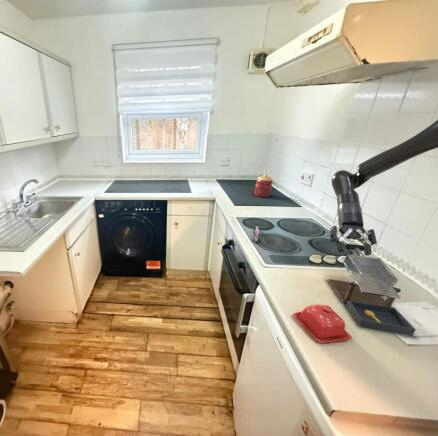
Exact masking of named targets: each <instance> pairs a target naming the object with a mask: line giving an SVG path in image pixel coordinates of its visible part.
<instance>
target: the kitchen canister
mask: <svg viewBox="0 0 438 436" xmlns="http://www.w3.org/2000/svg"><path fill="white" fill-rule="evenodd" d="M255 182H256V183H255V185H254V190H253V195H254V196H256V197H259V198H269V197H271V195H272V189H273V184H274V182H273V178H272V177H270V176H268V174H263V175H260V176H258V177H257V179H256V180H255Z"/></svg>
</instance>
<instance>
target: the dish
mask: <svg viewBox="0 0 438 436" xmlns="http://www.w3.org/2000/svg"><path fill="white" fill-rule="evenodd" d="M345 249H346V250H350V251H354V252H355V253H356V254H349V253H347V254H346V256H345V257H344V260H343V262H342V264H343V267H345V269H346V271H347V272H348V274H349V276H350V277H351V278H352V281H354V282H355V283H356V285H357V286H358V288H359V290H360V291H361V293H365V294H372V295H378V296H381V297H386V298H387V297H391V298H395V299H397V300H399V299H400V298H401V296H400V294H399V292H398V293H397V292H396V291H395V290H394V288H393V287H395V285H396V284H397V282H399V278H398V276H396V275H395V274H394V272H393V271H392V270H391V269H390V267H388V265H387V264H386V263H385V262H384V261H383V260H382V258H380V257H374V256H365V254H364V250H365V246H364V245H363V244H355V243H354V244H353V243H346V244H345Z"/></svg>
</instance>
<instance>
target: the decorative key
mask: <svg viewBox="0 0 438 436" xmlns="http://www.w3.org/2000/svg"><path fill="white" fill-rule="evenodd" d="M254 232H255V234H254V239H253V242H256V243H257V242H258V239H259V234H260V229H259V226H258V225H256V227H255V231H254Z"/></svg>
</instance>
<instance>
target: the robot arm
mask: <svg viewBox="0 0 438 436" xmlns="http://www.w3.org/2000/svg"><path fill="white" fill-rule="evenodd" d="M435 149H438V118H437V119H436V120H434V121H433V122H432V124H430V125H429V126H427V127H425V128H424V129H423V130H422V131H420V132H418V133H416V134H414V136H412V137H410V138H408V139H406V140H405V141H403V142H401V143H399V144H397V145H395V146H392V147H391V148H388V149H386V150H383V151H382V152H379V153H378V154H376V155H374V156H372V157H370V158H368V159H366V160H364V161H362V162H361V163H359V164H358V165H357V167H356V168H357V172H355V173H352V172H350V171H348V170H345V169H342V170H341V169H340V170H338V171H335V172H334V173H333V175H332V177H331V186H332V189H333V192H334V194H335V196H336V202H337V217H338V218H337V219H338V226H337V225H333V226H331V227H330V228H329V233H330V234H329V235H330V236H329V237H330V239H329V240H330V241H331V242H334V243H336V250H337V251H338V253H343V252H345V248H344V247H345V245H344V241H345V239H346V240H353V241H356V240H357V241H358V242H359V243H361V245H364V246H365V250H364V251H363V254H364V256H366V257H369V256H371V254H372V253H373V251H372V246H374V245H377V243H378V241H377V236H376V232H375V229H373V228H371V229H365V228H364V218H363V211H362V207H361V204H360V203H361V202H360V196H359V192H357V191H356V189H358V188H360V187H362V186H363V185H364V184H366V183H367V182H368V181H370V180H371V179H372V178H374V177H376V176H378V175H381V174H382V173H385V172H387V171H389V170H391V169H393V168H395V167H397V166H399V165H401V164H403V163H405V162H407V161H409V160H411V159H413V158H415V157H418V156H419V155H422V154H425V153H427V152H429V151H432V150H435ZM338 232H339V233H340V234H341V235H340V236H339V237H338Z"/></svg>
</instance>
